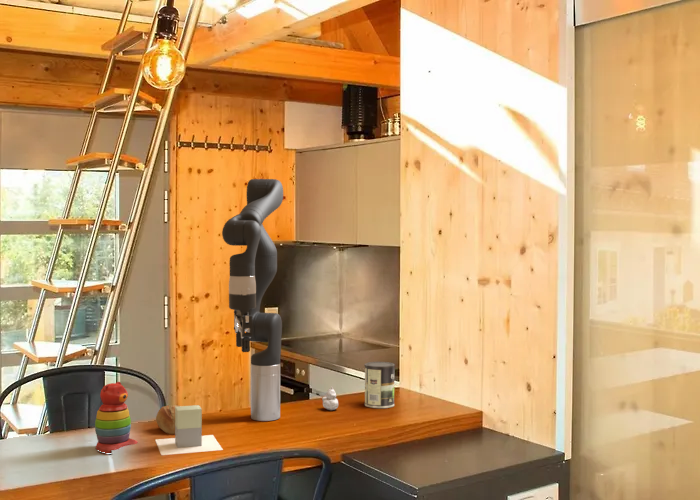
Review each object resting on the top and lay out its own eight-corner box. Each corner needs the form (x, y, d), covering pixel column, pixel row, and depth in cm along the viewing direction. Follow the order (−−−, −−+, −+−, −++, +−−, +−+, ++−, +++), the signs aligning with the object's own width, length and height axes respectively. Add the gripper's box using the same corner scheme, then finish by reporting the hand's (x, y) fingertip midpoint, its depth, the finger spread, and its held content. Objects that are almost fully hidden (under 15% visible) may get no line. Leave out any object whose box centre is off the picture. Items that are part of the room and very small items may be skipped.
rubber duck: (331, 412, 260) (331, 388, 260) (317, 409, 265) (317, 385, 265) (342, 409, 264) (342, 385, 264) (328, 406, 269) (328, 383, 269)
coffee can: (393, 401, 277) (394, 361, 276) (395, 408, 266) (395, 366, 266) (364, 401, 277) (364, 361, 276) (364, 408, 267) (364, 366, 266)
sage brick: (177, 429, 213) (177, 410, 213) (175, 424, 218) (175, 406, 218) (201, 427, 215) (201, 409, 215) (198, 423, 220) (198, 405, 220)
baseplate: (155, 443, 222) (155, 439, 222) (212, 439, 227) (212, 434, 227) (161, 459, 206) (161, 455, 206) (223, 454, 212) (223, 449, 212)
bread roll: (163, 441, 225) (163, 412, 225) (151, 429, 238) (150, 402, 238) (196, 437, 229) (196, 409, 229) (182, 425, 243) (182, 399, 242)
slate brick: (177, 447, 213) (177, 429, 213) (175, 443, 218) (175, 424, 218) (201, 445, 215) (201, 427, 215) (198, 441, 220) (198, 423, 220)
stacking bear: (111, 456, 210) (111, 388, 209) (85, 450, 215) (85, 384, 215) (142, 446, 219) (142, 381, 218) (116, 441, 224) (116, 378, 224)
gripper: (224, 289, 229) (225, 345, 230) (233, 294, 215) (234, 354, 216) (250, 288, 231) (251, 344, 232) (260, 293, 218) (261, 352, 219)
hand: (242, 349), depth 224 cm, fingers open, 8 cm apart
